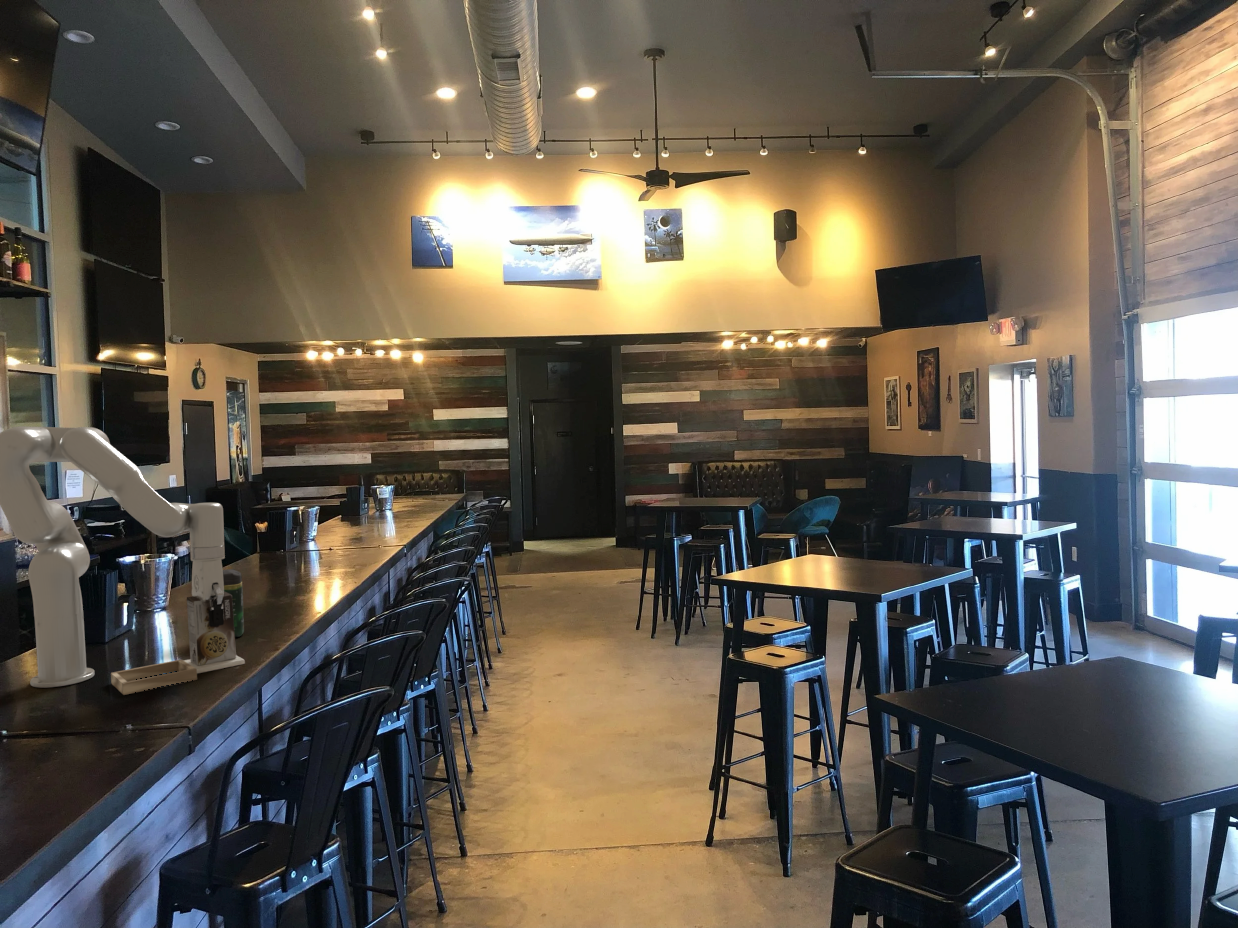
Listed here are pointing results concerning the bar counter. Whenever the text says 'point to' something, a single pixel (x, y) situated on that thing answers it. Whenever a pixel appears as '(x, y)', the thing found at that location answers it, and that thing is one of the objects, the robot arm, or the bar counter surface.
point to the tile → (217, 664)
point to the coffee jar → (235, 598)
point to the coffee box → (210, 632)
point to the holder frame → (125, 687)
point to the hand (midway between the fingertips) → (210, 622)
